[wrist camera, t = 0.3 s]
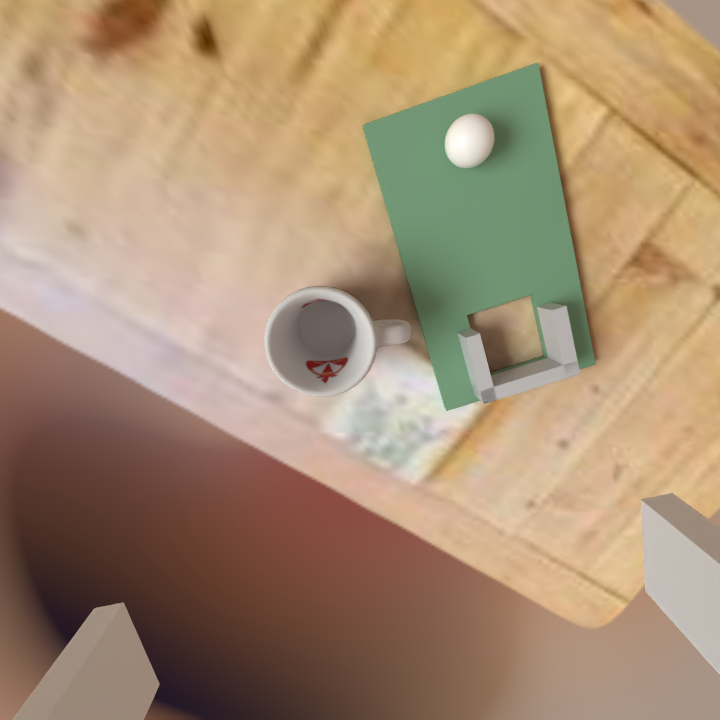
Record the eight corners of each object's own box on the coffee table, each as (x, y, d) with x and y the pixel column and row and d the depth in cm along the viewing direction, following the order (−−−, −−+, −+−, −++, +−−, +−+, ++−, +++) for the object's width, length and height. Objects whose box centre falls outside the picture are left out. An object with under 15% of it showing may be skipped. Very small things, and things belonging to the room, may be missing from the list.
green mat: (363, 128, 32) (363, 124, 31) (533, 67, 31) (538, 62, 30) (444, 407, 38) (446, 410, 37) (590, 362, 37) (595, 364, 36)
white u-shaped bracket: (454, 330, 36) (465, 338, 33) (545, 301, 36) (566, 305, 32) (471, 391, 37) (483, 404, 34) (559, 363, 37) (580, 373, 34)
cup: (401, 276, 35) (416, 280, 27) (404, 364, 37) (419, 391, 29) (277, 284, 35) (256, 290, 27) (287, 372, 37) (270, 401, 29)
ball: (434, 132, 31) (445, 115, 28) (479, 116, 31) (495, 98, 28) (446, 179, 32) (458, 169, 29) (489, 164, 32) (506, 152, 29)
